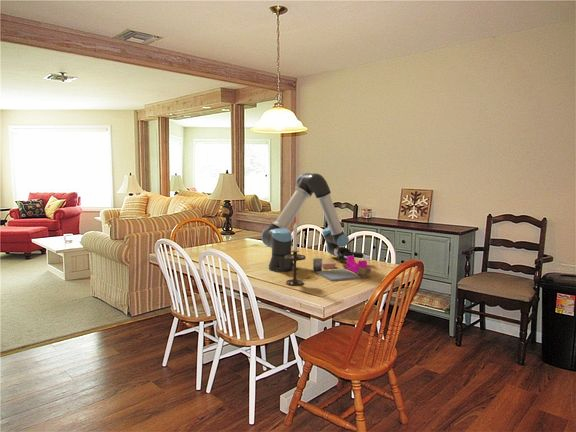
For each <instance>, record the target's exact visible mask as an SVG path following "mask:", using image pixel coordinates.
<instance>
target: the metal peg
mask: <svg viewBox="0 0 576 432" xmlns="http://www.w3.org/2000/svg"><path fill="white" fill-rule="evenodd" d="M312 261H313V262H312V264H313V265H312V266H313V267H312V268H313V269H312V271H313V272H315V273H317V272H318V271H323V270H322V269H323V268H322V262H323V258H319V257H318V258H313V260H312Z"/></svg>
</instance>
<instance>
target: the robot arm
mask: <svg viewBox="0 0 576 432" xmlns="http://www.w3.org/2000/svg"><path fill="white" fill-rule="evenodd" d="M294 189H295V190H294V193H293V194H292V196H291V197H290V199H289V200H288V201H287V203H286V204H285V207H283V209H282V211H281V213H280V214H279V215H278V217H277V219H276V220H275V221H273V222H271V223H270V225H269V226H268V227H265V228H264V229H263V230H262V232H261V237H260V238H261V241H262V243H263V244H264V245H265V246H267V247H268V248H271V257H270V260H269V264H268V270H269V271H274V272H279V273H280V272H282V273H283V272H290V271H293V270H292V269H293V268H294V261H292V260H287V259H285V255H289V254H292V252H291V251H292V240H293V237H292V236H293V235H292V232H291V230H289V229H288V228H289V226H290V225H291V223H292V221H294V220H295V219H294V218H296V216H297V214H298V212H299V211H300V209H301V207H302V206H303V205H304V204H305V202H306V200H307V199H309V198H311V197H312V195H313V194H314V196H315V198H316V199H317V200H318V202H319V204H320V206H321V209H322V212H323V213H324V214H323V215H324V217H325V221H326V223H327V226H328V227H325V228H323V230H322V236H323V239H324V240H325V243H326V252H327V253H328V254H330V255H331V256H335V257H336V258H337V259H338V261H341V262H346V263H347V256H354V258H358V259H362V260H365V261H367V262H370V261H371V255H368V253H366V252H359V251H350V249H349V248H347V247H346V246H347V245H348V244H349V242H350V239H349V236H348V235H346V234H345V232H344V229H343V227H342V225H341V224H342V223H341V221H340V219H339V216H338V213H337V211H336V208H335V204H334V202H333V200H332V196H331V189H330V186H329V185H328V182H327V180H326V179H325V178H324V176H323V175H321V174H320V173H316V172H315V173H310V172H306V173H302V174H300V175H299V176H298V177H297V179H296V185H295V187H294Z"/></svg>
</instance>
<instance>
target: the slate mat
mask: <svg viewBox="0 0 576 432" xmlns="http://www.w3.org/2000/svg"><path fill="white" fill-rule="evenodd" d="M316 274H317V275H319V276H321V277H322V278H325V279H326V280H328V281H330V282H336V281H347V280H356V279H362V278H361V276H359V275H358V274H357V273H355V272H353V271H352V272H351V270H349V269H345V268H342V269H341V268H340V269H331V270H322V271H318V272H316Z"/></svg>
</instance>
